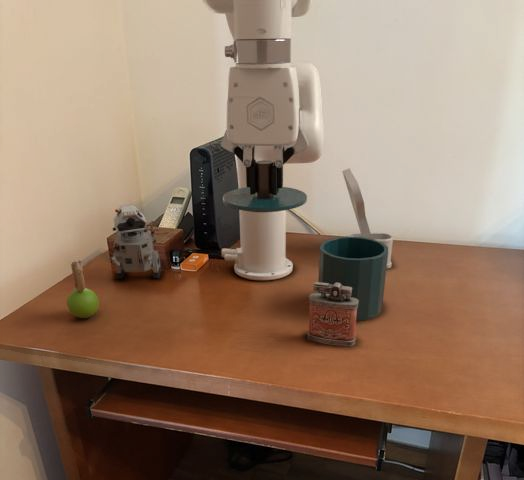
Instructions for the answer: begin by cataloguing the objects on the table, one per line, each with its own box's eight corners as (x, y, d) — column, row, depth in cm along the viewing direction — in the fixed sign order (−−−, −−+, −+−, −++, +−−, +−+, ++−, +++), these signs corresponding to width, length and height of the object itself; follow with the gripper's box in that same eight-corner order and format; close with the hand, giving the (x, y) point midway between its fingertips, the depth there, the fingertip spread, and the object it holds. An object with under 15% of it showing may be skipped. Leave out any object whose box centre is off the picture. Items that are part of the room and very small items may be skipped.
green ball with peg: (74, 328, 96) (60, 263, 90) (67, 313, 101) (54, 252, 95) (105, 321, 98) (94, 258, 92) (97, 307, 103) (85, 246, 97)
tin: (314, 318, 98) (317, 257, 92) (320, 291, 108) (322, 235, 102) (382, 323, 96) (388, 261, 90) (381, 295, 106) (387, 237, 100)
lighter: (357, 338, 92) (361, 283, 86) (353, 347, 89) (357, 291, 84) (310, 331, 94) (312, 277, 89) (305, 340, 91) (306, 285, 86)
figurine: (110, 291, 109) (97, 217, 102) (122, 269, 119) (111, 200, 112) (155, 290, 109) (146, 216, 102) (163, 268, 119) (156, 200, 112)
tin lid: (214, 214, 80) (211, 170, 76) (233, 192, 90) (231, 153, 87) (302, 217, 78) (303, 172, 74) (310, 194, 88) (311, 154, 85)
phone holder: (392, 269, 117) (402, 183, 108) (345, 269, 118) (351, 184, 108) (378, 241, 132) (386, 164, 123) (336, 242, 132) (341, 165, 123)
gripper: (197, 57, 72) (206, 197, 81) (321, 55, 69) (316, 200, 79) (211, 54, 78) (218, 185, 88) (325, 53, 76) (320, 188, 85)
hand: (264, 191), depth 83 cm, fingers closed on tin lid, 2 cm apart
